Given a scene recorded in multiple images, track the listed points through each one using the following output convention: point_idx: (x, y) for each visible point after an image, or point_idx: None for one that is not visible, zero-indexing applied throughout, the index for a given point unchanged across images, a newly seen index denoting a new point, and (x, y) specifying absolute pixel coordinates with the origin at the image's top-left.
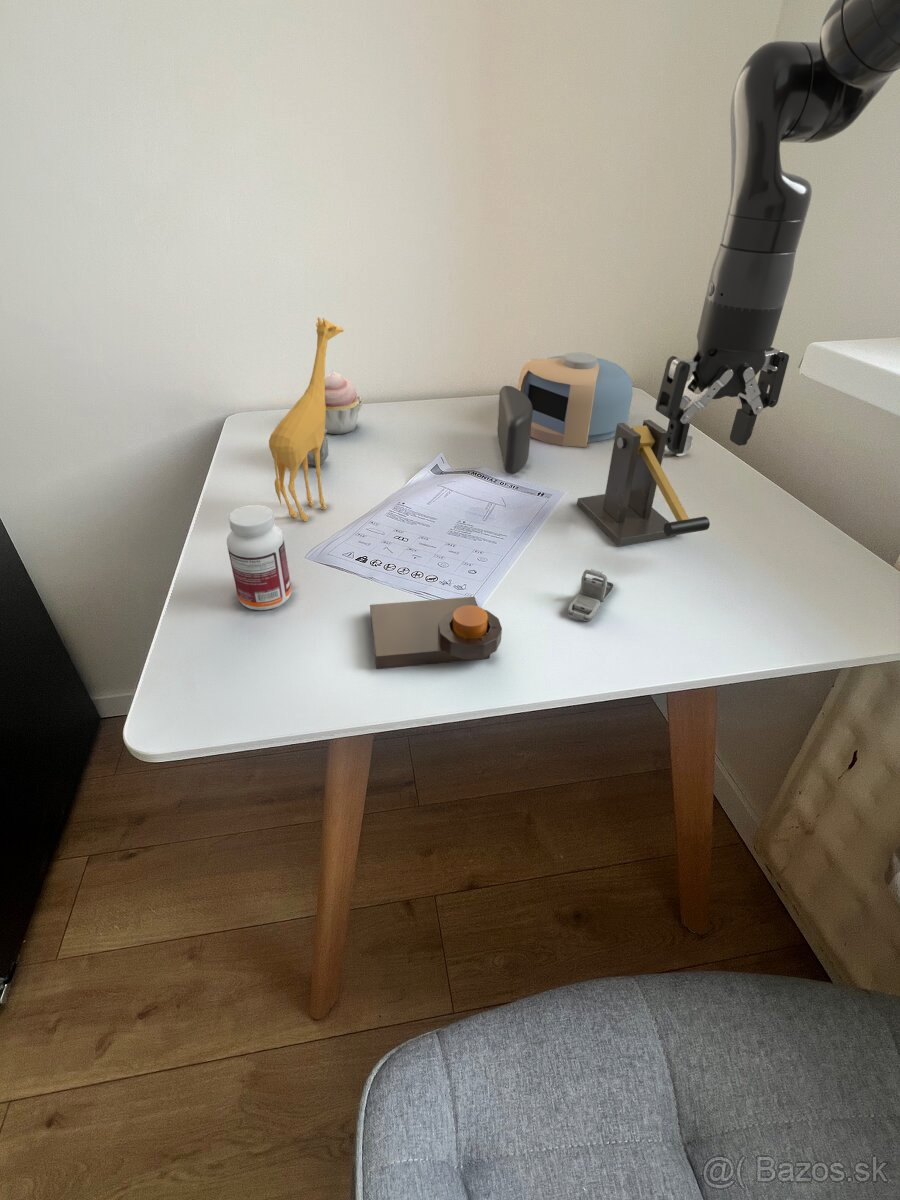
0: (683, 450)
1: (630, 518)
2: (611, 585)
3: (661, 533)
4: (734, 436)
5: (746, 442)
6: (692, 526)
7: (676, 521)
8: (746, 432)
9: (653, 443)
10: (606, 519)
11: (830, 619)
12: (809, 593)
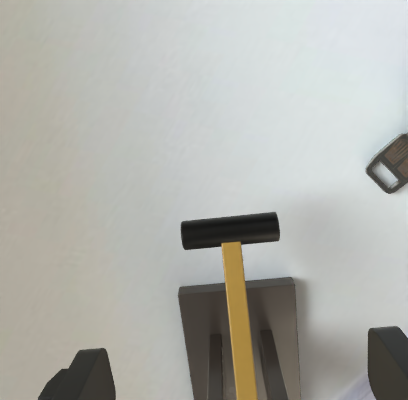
0: (377, 332)
1: None
2: (371, 166)
3: (210, 289)
4: (106, 397)
5: (79, 353)
6: (225, 221)
7: (256, 238)
8: (77, 385)
9: None
10: (286, 343)
11: (35, 4)
12: (33, 86)
